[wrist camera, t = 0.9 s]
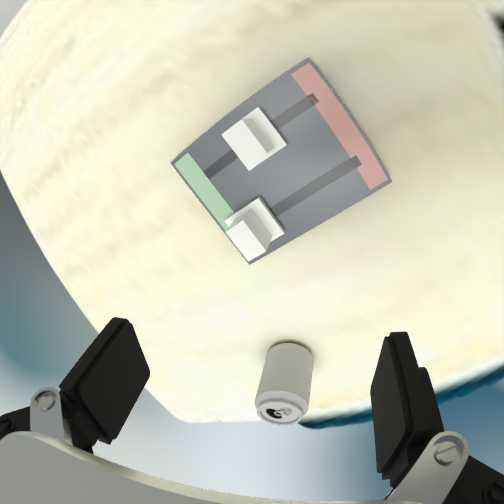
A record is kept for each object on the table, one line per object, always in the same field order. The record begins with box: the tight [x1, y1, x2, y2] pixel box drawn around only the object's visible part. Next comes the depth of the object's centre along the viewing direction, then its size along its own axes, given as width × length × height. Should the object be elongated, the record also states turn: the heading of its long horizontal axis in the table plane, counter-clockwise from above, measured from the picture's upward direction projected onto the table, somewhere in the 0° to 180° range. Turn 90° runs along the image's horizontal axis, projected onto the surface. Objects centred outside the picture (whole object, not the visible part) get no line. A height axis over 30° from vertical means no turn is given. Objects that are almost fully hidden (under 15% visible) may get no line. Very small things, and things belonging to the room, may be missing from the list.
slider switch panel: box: [171, 58, 392, 265], centre depth 33 cm, size 20×16×2 cm
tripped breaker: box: [222, 107, 287, 171], centre depth 29 cm, size 5×5×5 cm
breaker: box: [225, 196, 285, 262], centre depth 34 cm, size 5×5×5 cm
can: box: [255, 343, 313, 426], centre depth 42 cm, size 8×8×12 cm
